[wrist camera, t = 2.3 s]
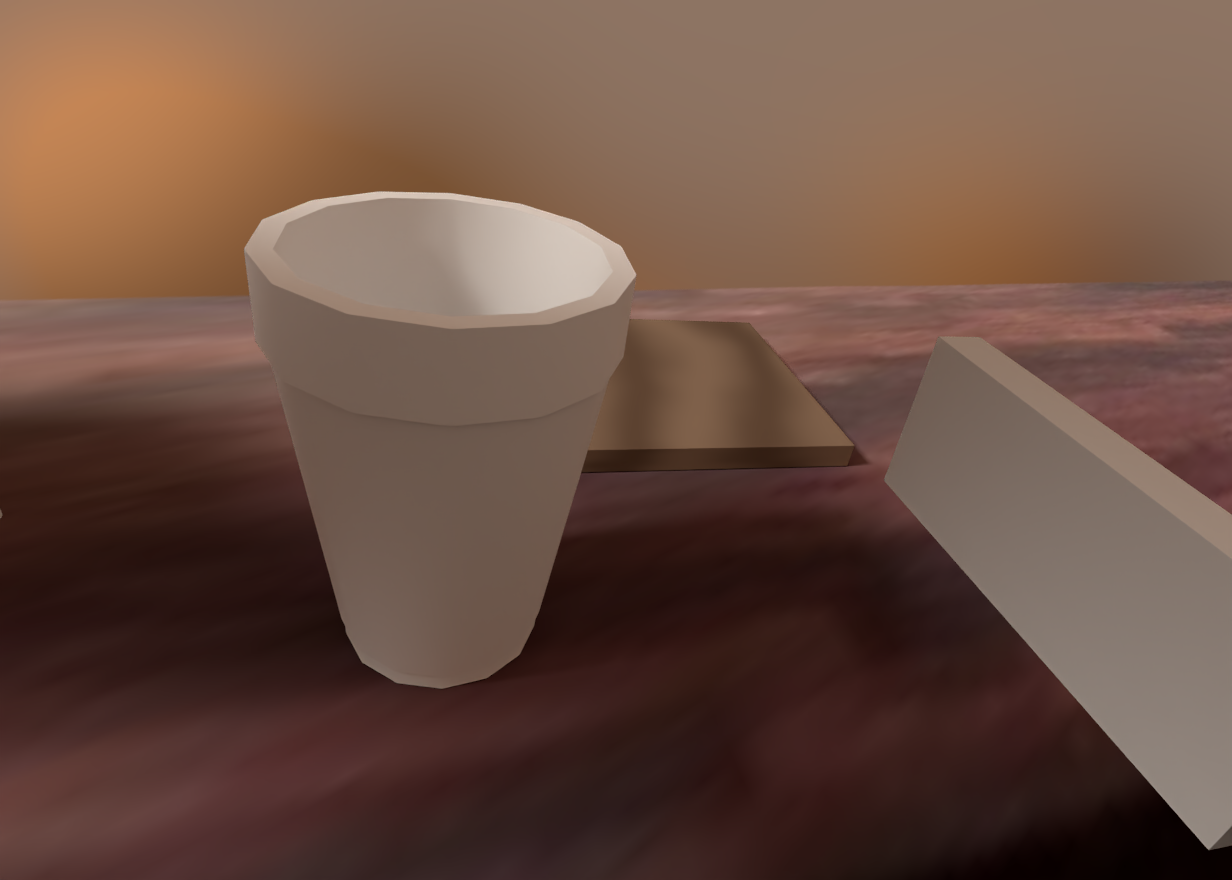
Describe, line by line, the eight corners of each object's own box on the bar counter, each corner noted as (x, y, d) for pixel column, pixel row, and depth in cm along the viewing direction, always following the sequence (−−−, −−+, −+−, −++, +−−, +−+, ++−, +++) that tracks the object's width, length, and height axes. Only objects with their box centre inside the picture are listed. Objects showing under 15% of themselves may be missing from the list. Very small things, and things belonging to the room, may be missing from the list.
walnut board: (433, 476, 33) (434, 452, 32) (424, 332, 44) (424, 312, 43) (847, 465, 38) (854, 445, 37) (744, 339, 49) (749, 322, 49)
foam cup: (631, 656, 26) (708, 297, 19) (361, 787, 21) (332, 360, 14) (495, 500, 32) (516, 185, 25) (260, 572, 27) (204, 199, 20)
